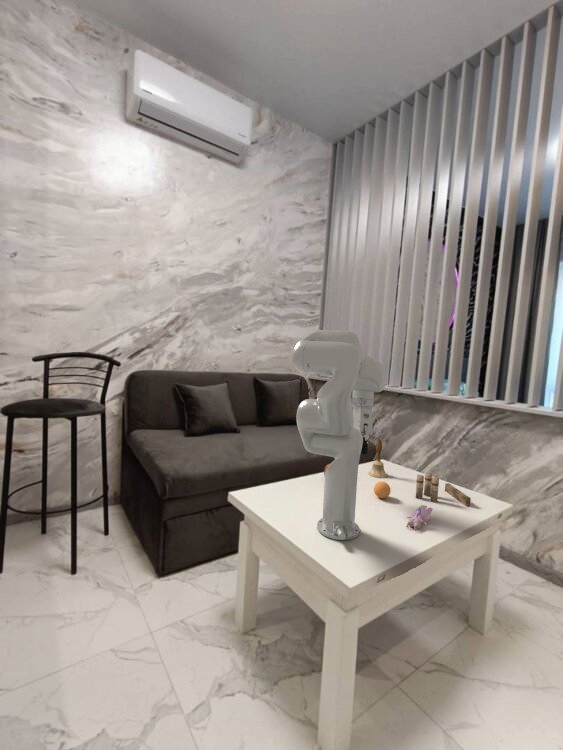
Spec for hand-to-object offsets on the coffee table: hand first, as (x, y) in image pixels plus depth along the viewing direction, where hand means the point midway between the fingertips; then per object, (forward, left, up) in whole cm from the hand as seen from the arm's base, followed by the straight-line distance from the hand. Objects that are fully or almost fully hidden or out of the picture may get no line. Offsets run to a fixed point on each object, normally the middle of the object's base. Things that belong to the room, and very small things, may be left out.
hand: (359, 450), depth 130 cm
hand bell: (+25, -17, -18) cm, 35 cm away
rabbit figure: (-19, -15, -18) cm, 30 cm away
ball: (0, -10, -15) cm, 17 cm away
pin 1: (+3, -29, -18) cm, 34 cm away
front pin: (0, -24, -18) cm, 30 cm away
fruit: (+17, +5, -18) cm, 25 cm away
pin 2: (-2, -29, -18) cm, 34 cm away
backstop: (0, -39, -18) cm, 43 cm away
